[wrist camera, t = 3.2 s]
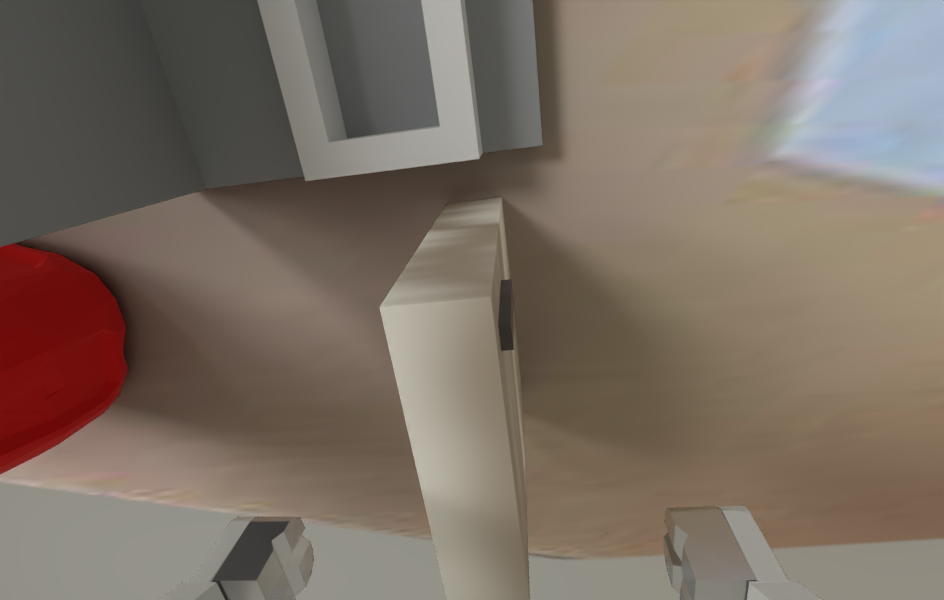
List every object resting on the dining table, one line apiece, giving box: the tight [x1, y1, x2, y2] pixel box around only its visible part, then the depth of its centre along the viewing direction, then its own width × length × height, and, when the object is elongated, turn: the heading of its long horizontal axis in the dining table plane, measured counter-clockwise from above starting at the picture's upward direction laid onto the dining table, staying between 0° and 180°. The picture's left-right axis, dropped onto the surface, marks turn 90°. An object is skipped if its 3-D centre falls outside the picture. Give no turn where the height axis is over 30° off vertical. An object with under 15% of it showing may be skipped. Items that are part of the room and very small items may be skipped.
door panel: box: [379, 197, 530, 600], centre depth 17 cm, size 3×10×11 cm, turn 8°
